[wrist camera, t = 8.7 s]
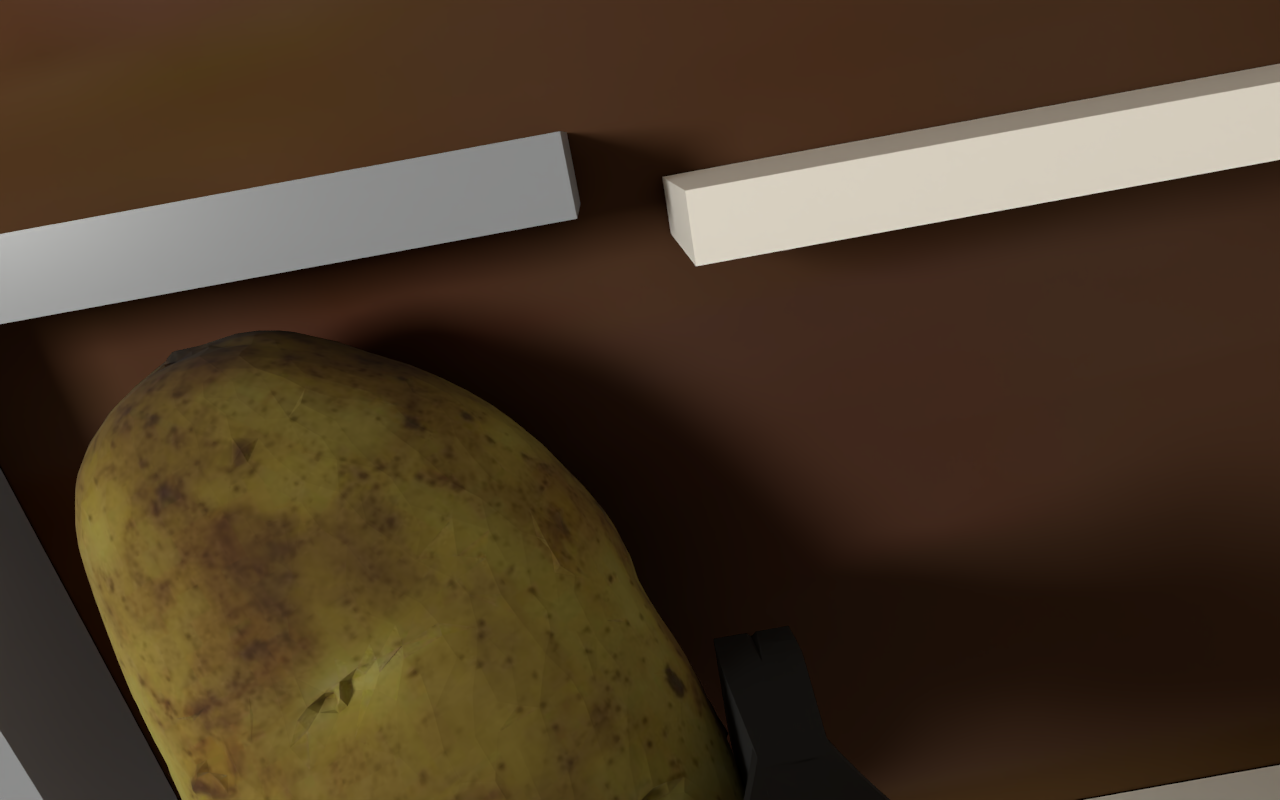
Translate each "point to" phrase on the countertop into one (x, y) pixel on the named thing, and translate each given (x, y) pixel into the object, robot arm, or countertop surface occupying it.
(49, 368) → the countertop surface
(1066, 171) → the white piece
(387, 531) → the potato
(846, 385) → the countertop surface
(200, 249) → the frame
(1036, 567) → the countertop surface
